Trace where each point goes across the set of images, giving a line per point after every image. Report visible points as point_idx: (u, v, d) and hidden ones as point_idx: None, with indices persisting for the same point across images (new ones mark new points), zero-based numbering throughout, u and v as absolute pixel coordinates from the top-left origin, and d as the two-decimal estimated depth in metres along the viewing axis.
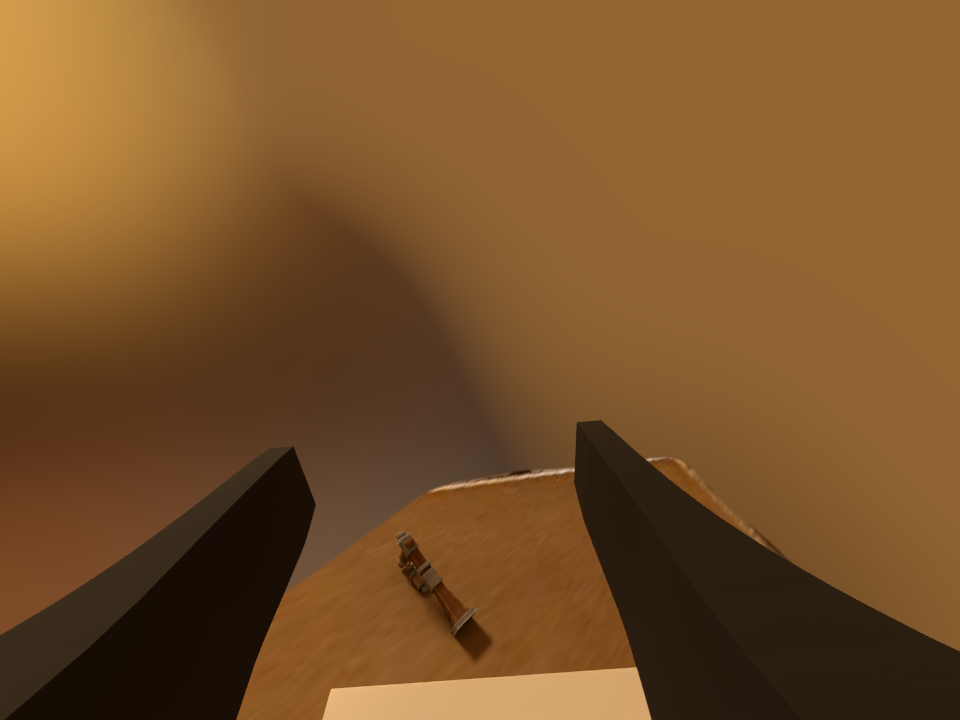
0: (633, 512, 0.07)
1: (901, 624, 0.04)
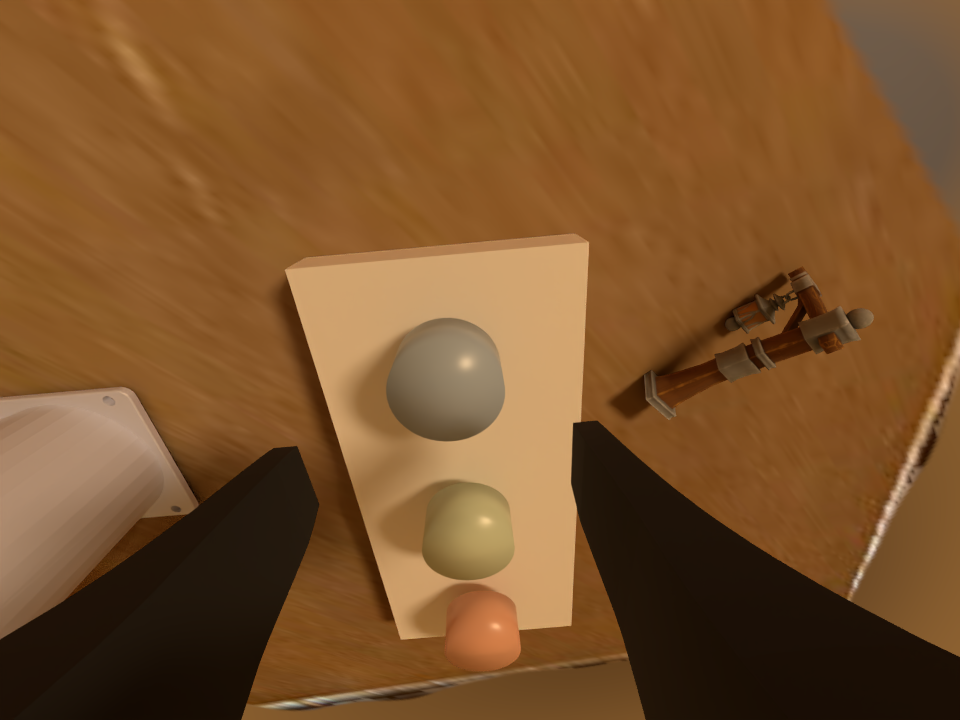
0: (628, 512, 0.07)
1: (893, 625, 0.04)
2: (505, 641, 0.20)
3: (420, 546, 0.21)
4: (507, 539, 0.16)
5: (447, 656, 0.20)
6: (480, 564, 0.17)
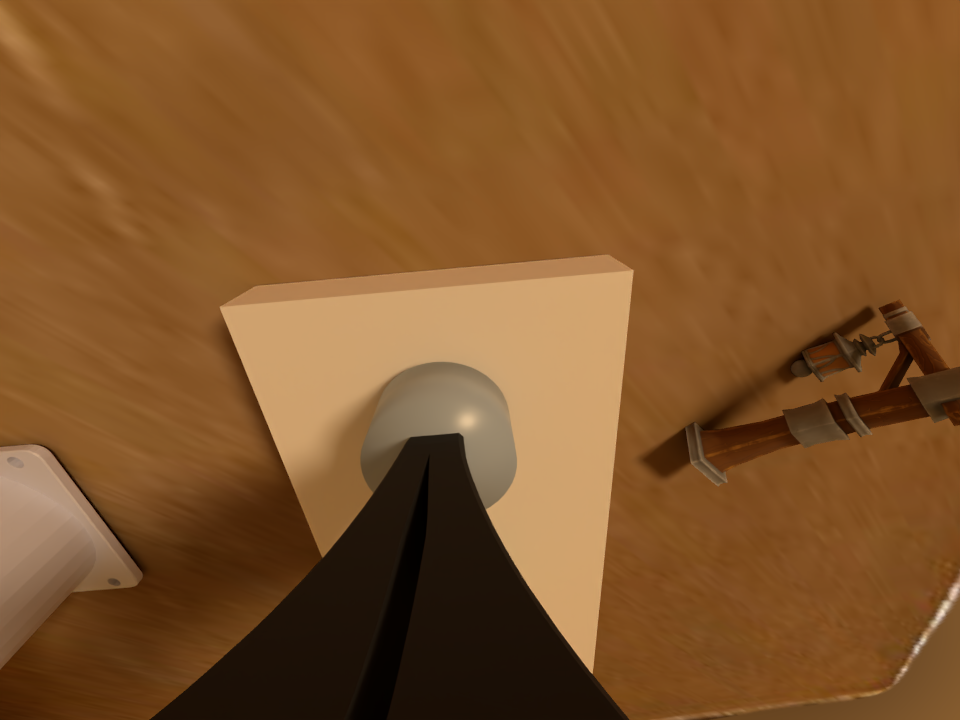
0: None
1: (573, 651, 0.04)
2: None
3: None
4: None
5: None
6: None
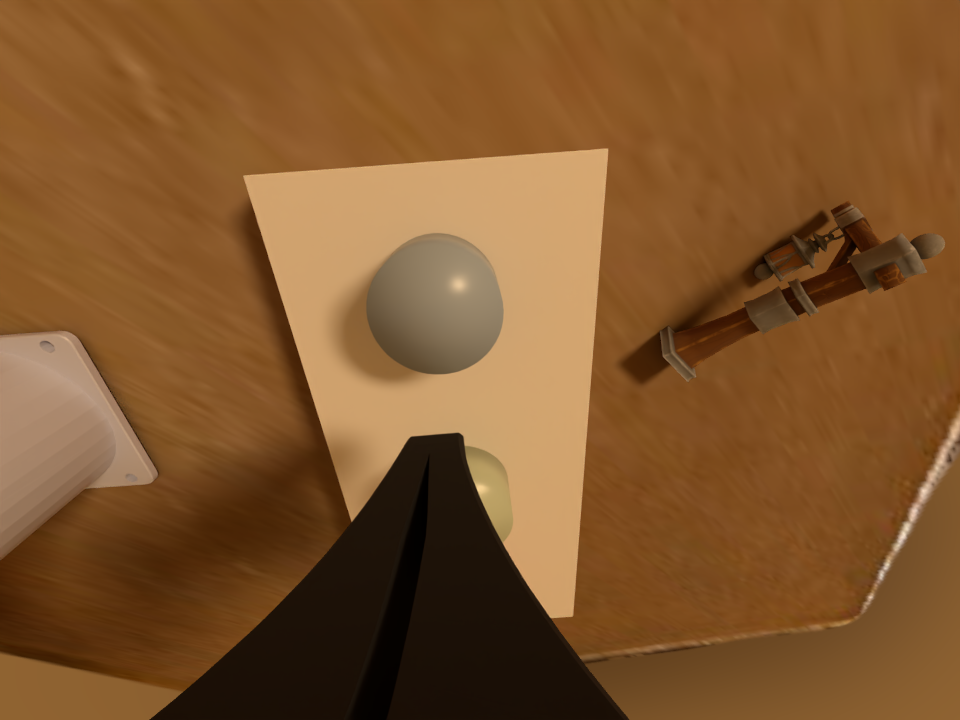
0: None
1: (573, 651, 0.04)
2: None
3: None
4: (505, 509, 0.14)
5: None
6: None
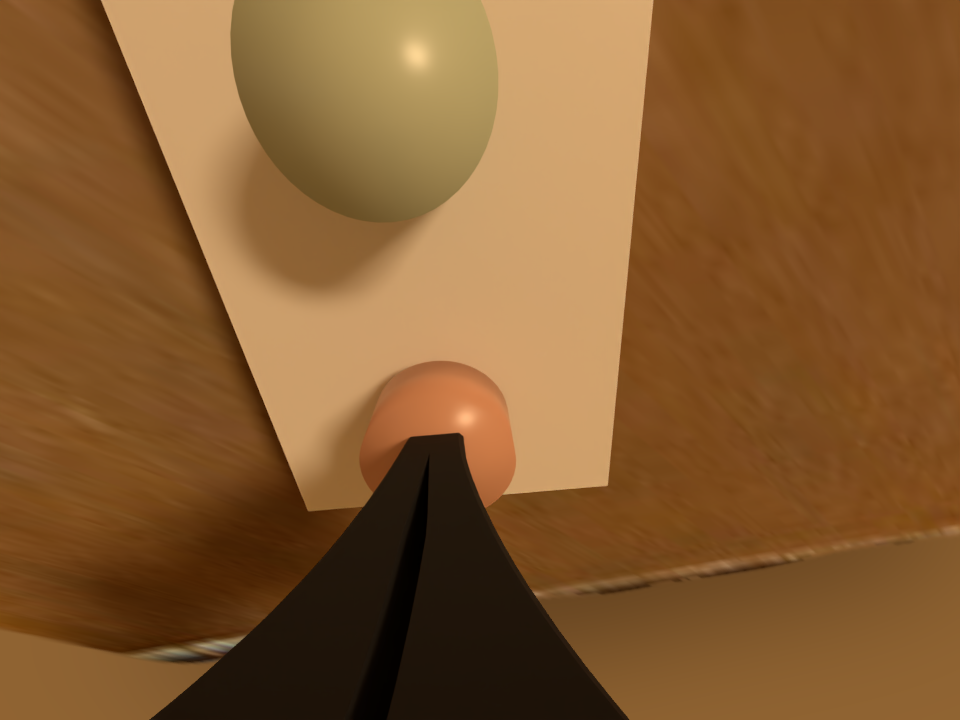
0: None
1: (573, 651, 0.04)
2: (484, 438, 0.10)
3: (311, 269, 0.10)
4: (477, 31, 0.06)
5: (366, 477, 0.10)
6: (407, 153, 0.06)
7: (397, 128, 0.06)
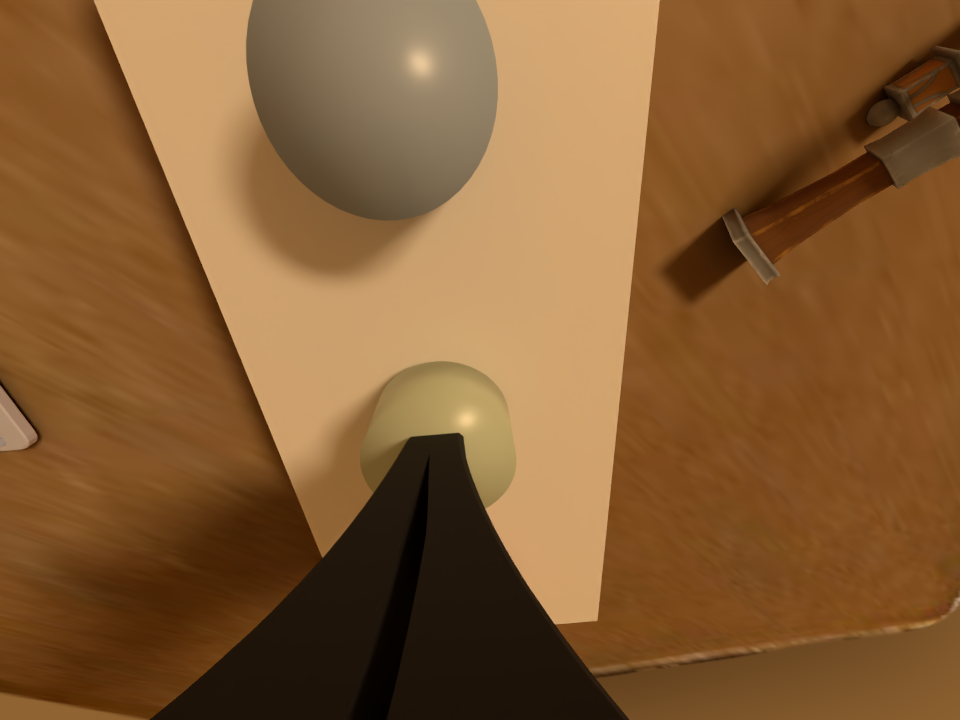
0: None
1: (573, 651, 0.04)
2: None
3: None
4: (504, 443, 0.10)
5: None
6: None
7: None
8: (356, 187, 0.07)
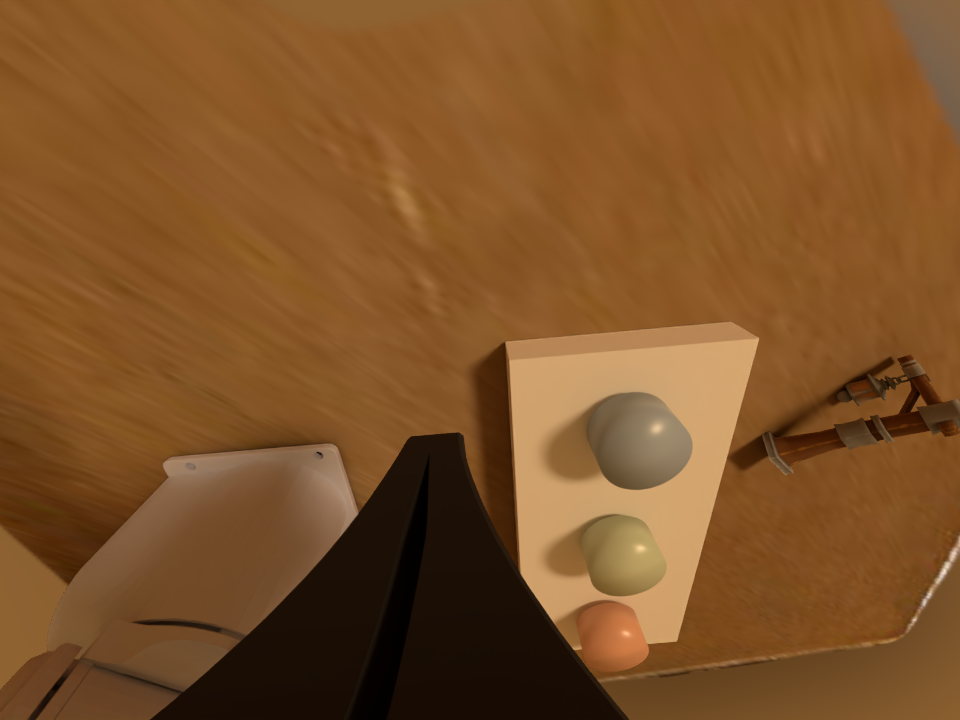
0: None
1: (573, 651, 0.04)
2: (637, 646, 0.23)
3: (562, 575, 0.24)
4: (662, 563, 0.20)
5: (585, 659, 0.24)
6: (635, 583, 0.21)
7: (633, 579, 0.20)
8: (628, 480, 0.17)
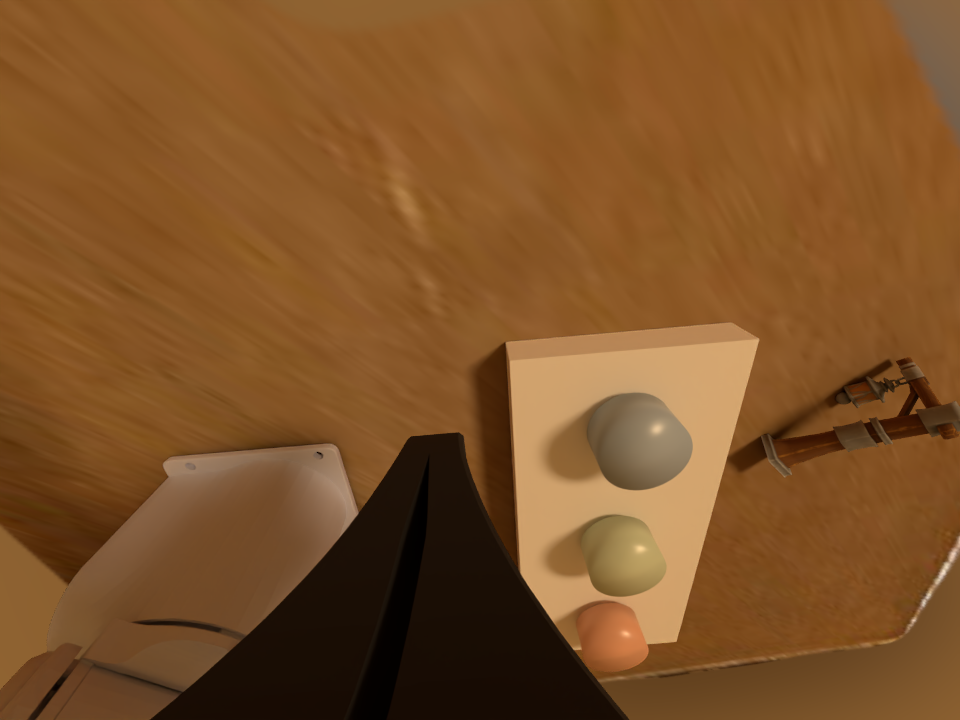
0: None
1: None
2: (637, 647, 0.24)
3: (562, 575, 0.24)
4: (662, 564, 0.20)
5: (585, 659, 0.24)
6: (634, 584, 0.21)
7: (633, 580, 0.20)
8: (628, 481, 0.17)
